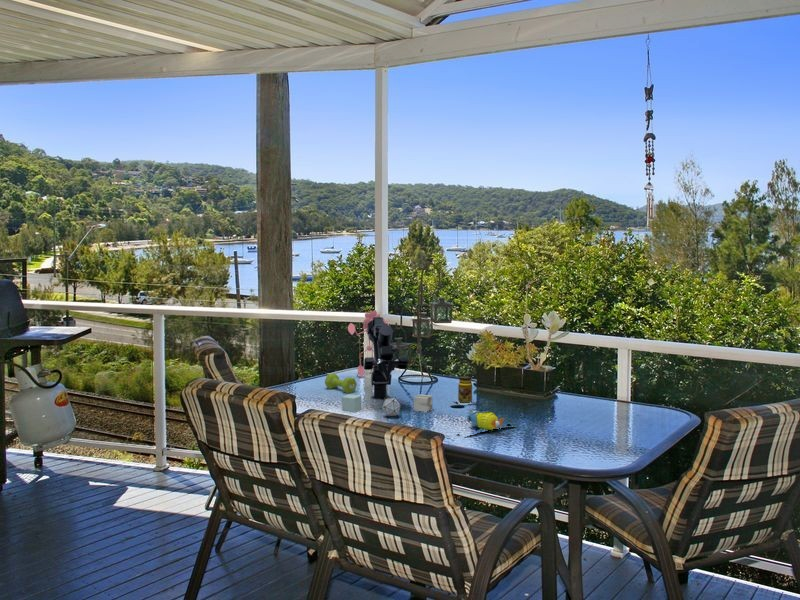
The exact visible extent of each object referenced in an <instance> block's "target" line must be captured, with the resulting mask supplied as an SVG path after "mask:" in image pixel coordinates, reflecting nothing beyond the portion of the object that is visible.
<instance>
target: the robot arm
mask: <svg viewBox="0 0 800 600" xmlns="http://www.w3.org/2000/svg"><path fill="white" fill-rule="evenodd" d="M383 319H384V317H382V316H380V317H374V318H372V321H370V322H369V323H368V326H367V328H366V329H367V332H366V335H367V334H368V335H369V339H370V342H371V343H372V350H373V351H374V353H373V356H372V357H370V356H369V357H364V359H363V368H364V371H365V370H366V371H367V370H368V371H371V369H372V368H373V369H372V372H371V374H370V385H371V386H373V396H370V398H371V399H377V400H385V399H384V397H385V398H386V399H389V398H390V395H389V394H388V393H387V389H388V388H387V386H391V384H392V377H393V375H392V374H391V373H392V371H395V368H396V366H397V368H398V369H399V370H406V369H408V366H409V357H407V356H398V359H394V354H397V353H398V347H397V344H393V345H391V341H392V339H393V335H394V333H395V332H394V330H393V327H391V326H390V324H389V323H388V322H387V323H388V324H389V325H388V324H387V323H384V321H383ZM368 335H367V336H368ZM369 339H368V340H369ZM373 366H374V367H373ZM387 394H388V395H387Z"/></svg>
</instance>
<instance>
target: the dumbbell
mask: <svg viewBox="0 0 800 600" xmlns="http://www.w3.org/2000/svg"><path fill="white" fill-rule="evenodd" d="M324 384H325V386H326V388H327V389H328V388H329V390H334V389H333V388H335V389H337V388H338V387H341V389H342V390H343V392H344V393H345V394H352V393H354V392H355V391H356V388H357V386H358V384H357V381H356V379H355V378H354V377H352V376H351V377H350V376H347V377H345V378H344V379H343V380H341V379H340V377H339V376H338V374H337V373H328V374H327V375H326V376H325V379H324Z"/></svg>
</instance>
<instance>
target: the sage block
mask: <svg viewBox="0 0 800 600" xmlns="http://www.w3.org/2000/svg"><path fill="white" fill-rule="evenodd" d="M342 410H343V411H342ZM361 410H362V395H358V394H352V393H348V394H346V395H344V396H341V411H342V412H348V413H356V412H358V411H361Z"/></svg>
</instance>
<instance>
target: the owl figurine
mask: <svg viewBox="0 0 800 600" xmlns="http://www.w3.org/2000/svg"><path fill="white" fill-rule="evenodd" d="M504 420H505V418H503V417H501V418H498V415H496V414H495V413H494V412H492V410H490V409H482V410H480V409H478V410H477V409H476V410H472V411H471V412H470V414H467V422H468V423H469V422H471V423H473V425H475V426H476V427H477V428H478V429H480V428H481V429H485V430H486V429H487V430H491V431H494V430H493V429H497V428H496V427H497V426H499V427H500V429H499V430H502V429H501V425H502V423H503V422H504Z"/></svg>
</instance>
